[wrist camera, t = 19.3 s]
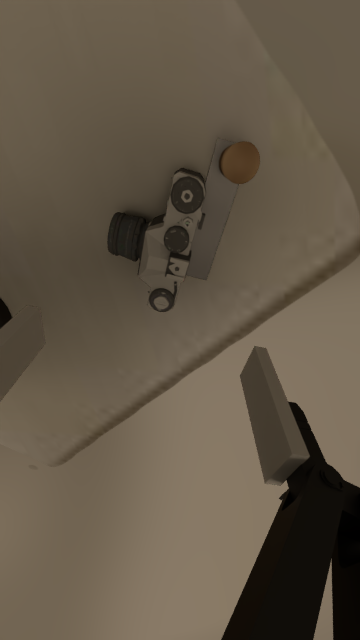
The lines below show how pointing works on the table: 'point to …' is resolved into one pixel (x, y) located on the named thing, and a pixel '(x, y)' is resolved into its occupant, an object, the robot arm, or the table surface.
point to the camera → (162, 239)
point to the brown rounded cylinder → (239, 162)
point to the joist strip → (212, 216)
